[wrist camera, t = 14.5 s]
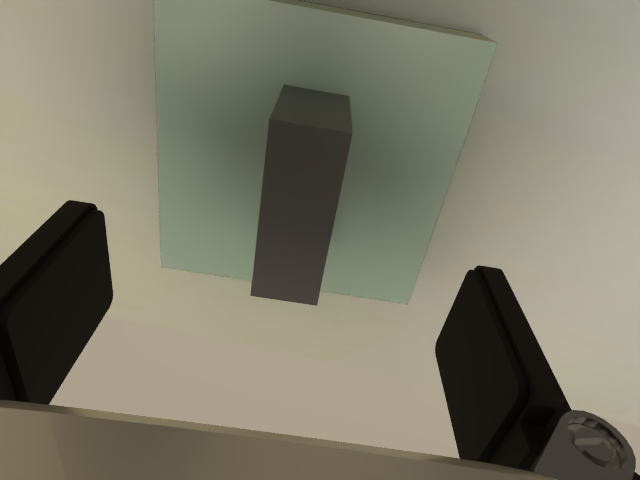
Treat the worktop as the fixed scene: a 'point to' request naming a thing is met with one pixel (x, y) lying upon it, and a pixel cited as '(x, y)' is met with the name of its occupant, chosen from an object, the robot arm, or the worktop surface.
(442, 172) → the lid
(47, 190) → the worktop surface
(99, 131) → the worktop surface
